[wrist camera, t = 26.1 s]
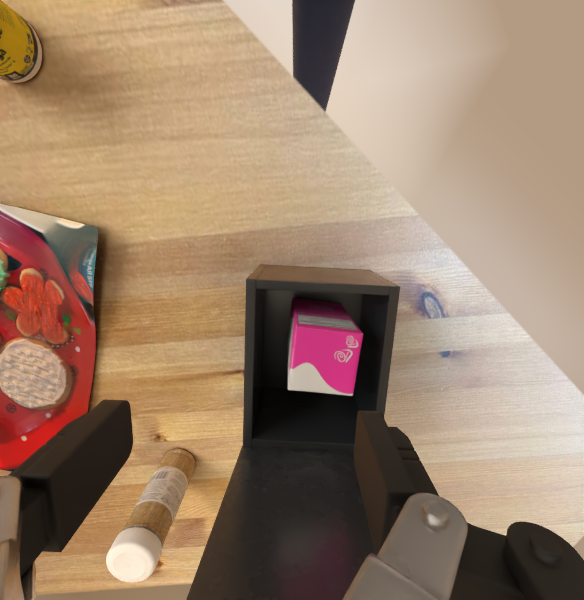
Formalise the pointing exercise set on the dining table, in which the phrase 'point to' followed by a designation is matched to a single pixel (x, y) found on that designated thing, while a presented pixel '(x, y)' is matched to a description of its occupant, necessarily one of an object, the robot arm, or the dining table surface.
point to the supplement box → (322, 348)
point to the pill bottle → (17, 47)
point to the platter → (43, 328)
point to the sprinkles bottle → (151, 519)
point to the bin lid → (286, 528)
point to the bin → (274, 356)
